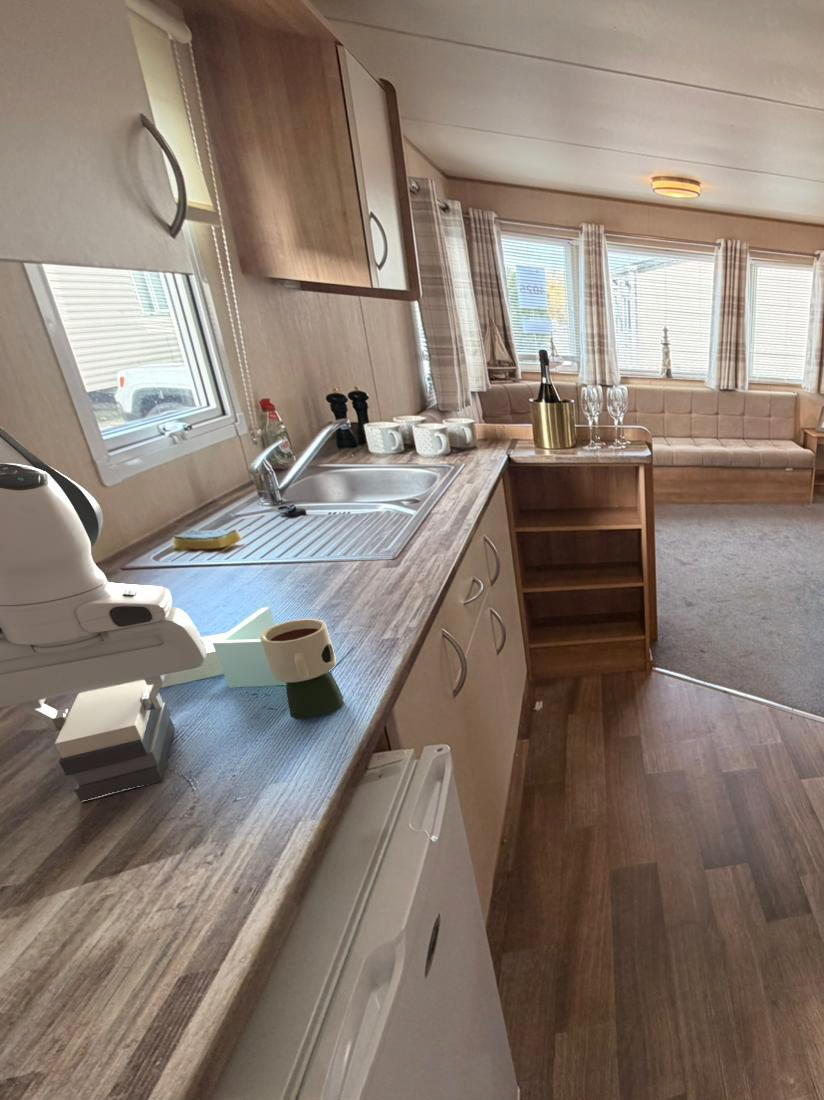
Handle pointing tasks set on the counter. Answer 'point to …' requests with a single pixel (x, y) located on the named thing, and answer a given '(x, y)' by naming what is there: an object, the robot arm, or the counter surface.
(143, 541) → the counter surface
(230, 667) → the l-shaped corner panel
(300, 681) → the character mug
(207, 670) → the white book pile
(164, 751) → the grey book pile
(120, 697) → the cream flat block
